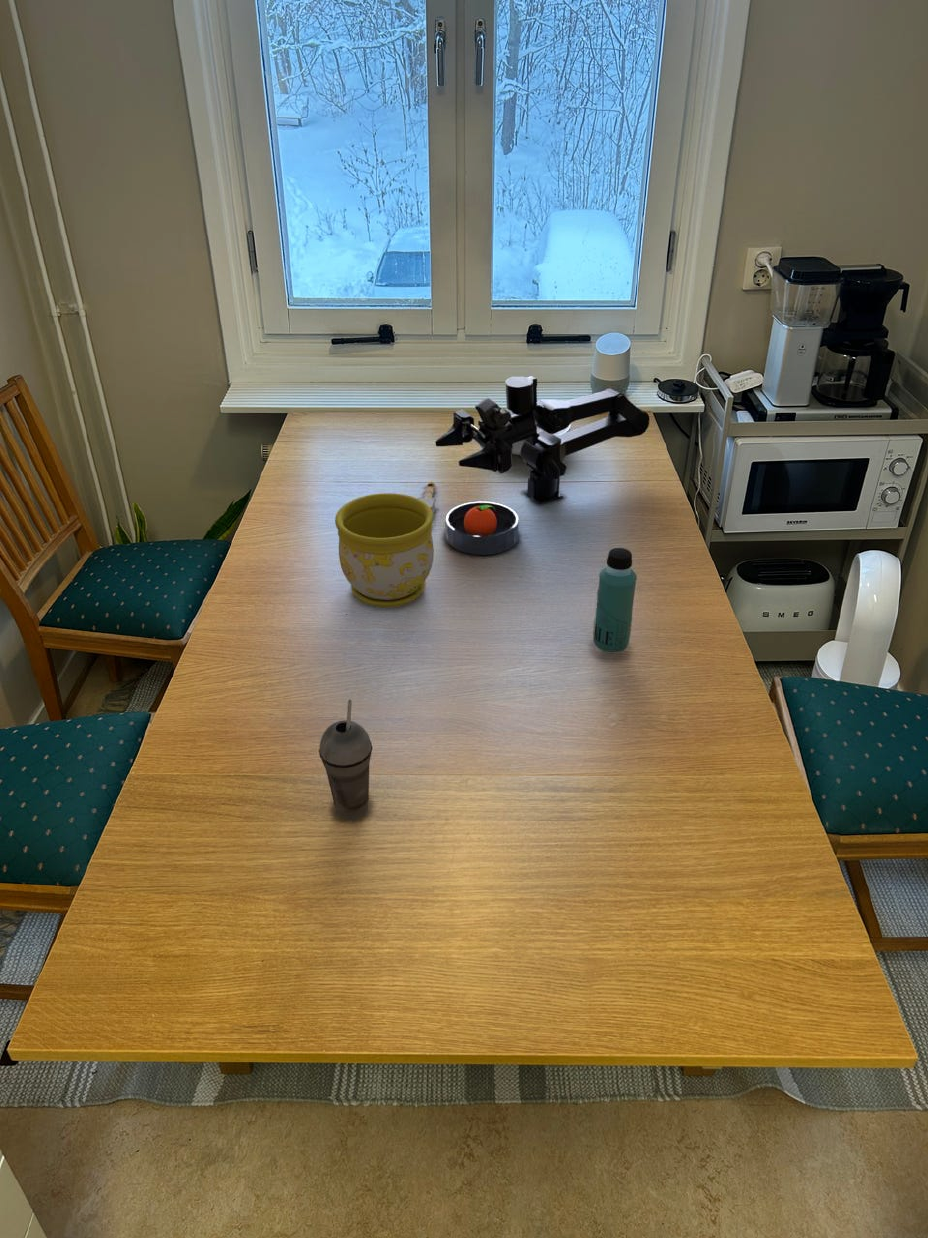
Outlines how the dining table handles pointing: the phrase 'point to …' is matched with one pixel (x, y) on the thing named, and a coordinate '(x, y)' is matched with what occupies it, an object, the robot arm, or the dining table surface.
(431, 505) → the paintbrush
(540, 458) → the robot arm
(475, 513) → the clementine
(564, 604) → the dining table surface
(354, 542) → the flowerpot
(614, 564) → the beverage bottle
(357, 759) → the beverage cup
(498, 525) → the fruit bowl
